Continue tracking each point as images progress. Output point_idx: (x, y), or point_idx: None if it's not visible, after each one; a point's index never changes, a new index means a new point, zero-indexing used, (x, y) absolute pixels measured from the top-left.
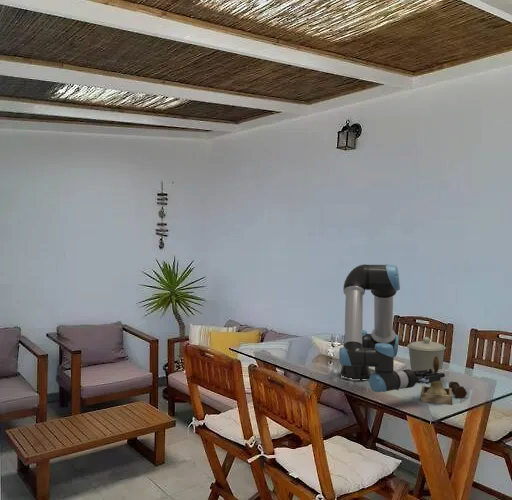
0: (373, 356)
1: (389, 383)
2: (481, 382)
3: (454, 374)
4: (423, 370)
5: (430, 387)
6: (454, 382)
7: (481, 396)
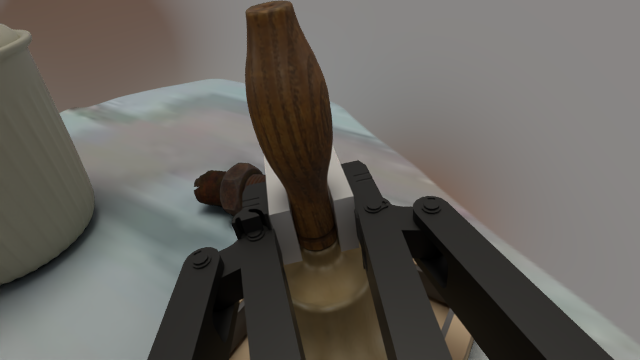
0: None
1: None
2: (209, 118)
3: (87, 144)
4: (186, 294)
5: (320, 354)
6: (240, 172)
7: (351, 156)
